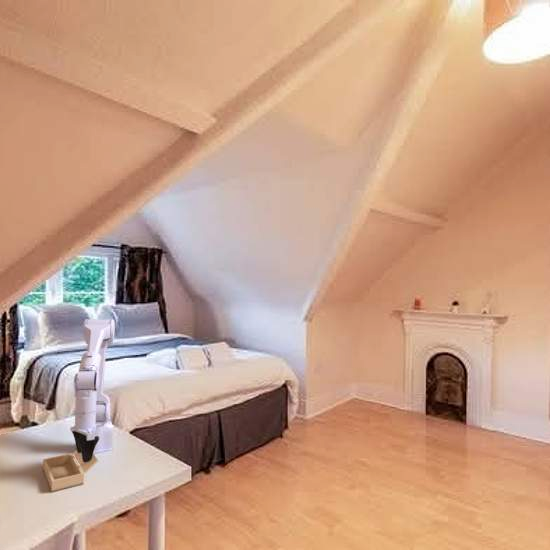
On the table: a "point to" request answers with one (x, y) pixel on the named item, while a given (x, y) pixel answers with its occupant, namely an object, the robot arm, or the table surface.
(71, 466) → the carton
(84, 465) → the lid flap
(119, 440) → the table surface
